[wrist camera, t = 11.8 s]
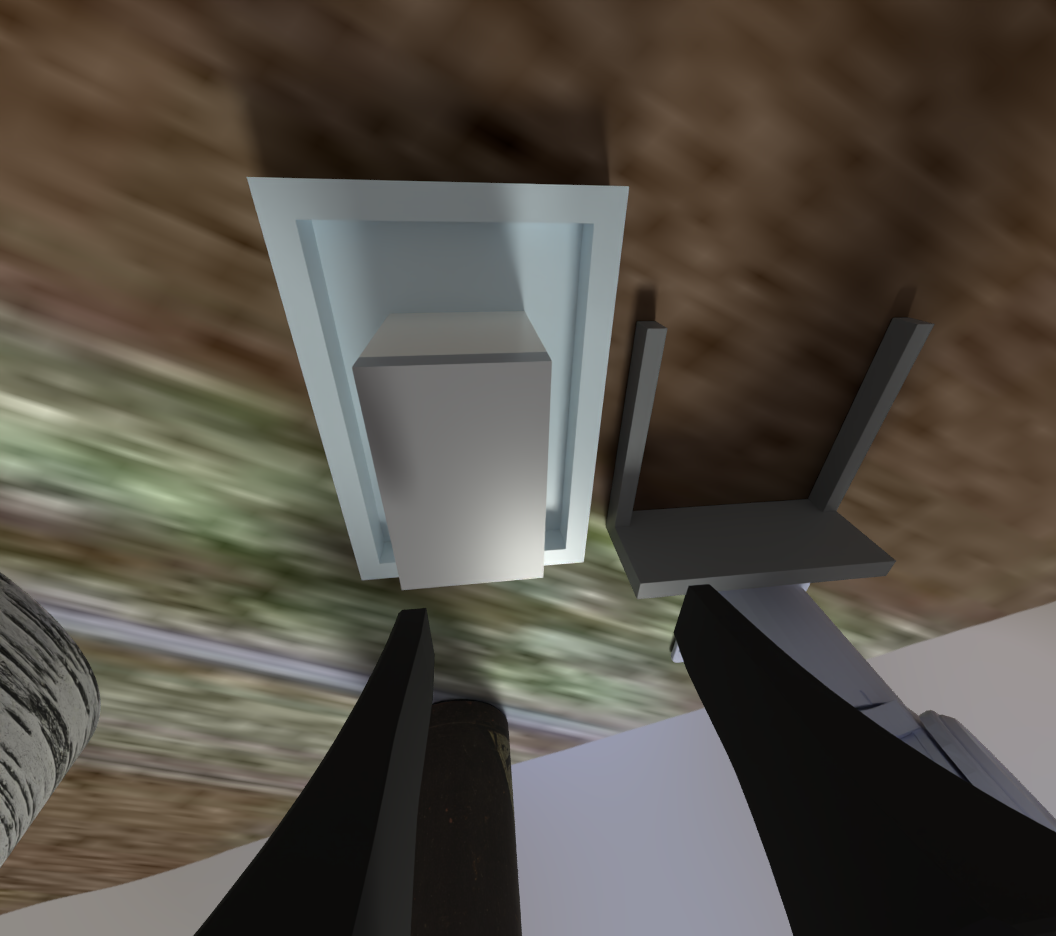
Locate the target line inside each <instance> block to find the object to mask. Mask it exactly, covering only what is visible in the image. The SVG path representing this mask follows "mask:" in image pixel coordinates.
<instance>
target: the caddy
mask: <svg viewBox="0 0 1056 936" xmlns="http://www.w3.org/2000/svg"><path fill="white" fill-rule="evenodd" d="M352 371H353V375H354V380H355V384H356V389H357V393H358V397H359V402H360V406H361V411H362V415H363V420H364V424H365V429H366V433H367V437H368V442H369V446H370V451H371V455H372V460H373V464H374V468H375V473H376V477H377V482H378V486H379V491H380V495H381V500H382V504H383V508H384V513H385V517H386V522H387V526H388V531H389V535H390V539H391V544H392V548H393V553H394V557H395V562H396V566H397V571H398V575H399V579H400V584H401V588H402V590H410V589H421V588H432V587H443V586H454V585H465V584H476V583H487V582H498V581H509V580H521V579H532V578H543V570H544V545H545V520H546V496H547V471H548V446H549V422H550V397H551V373H552V360H551V358H550V357H549V355H548V353H547V351H546V349H545V347H544V346H543V344H542V342H541V340H540V338H539V336H538V335H537V333H536V331H535V329H534V327H533V325H532V324H531V322H530V320H529V318H528V316H527V314H526V313H525V311H496V312H441V313H389V315H388V316H387V318H386V319H385V320H384V322H383V323H382V325H381V326H380V328H379V329H378V330H377V332H376V333H375V335H374V336H373V338H372V339H371V341H370V342H369V343H368V345H367V346H366V348H365V349H364V351H363V352H362V353H361V355H360V356H359V358H358V359H357V361H356V362H355V363H354V365H353V366H352Z"/></svg>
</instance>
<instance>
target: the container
mask: <svg viewBox="0 0 1056 936" xmlns="http://www.w3.org/2000/svg"><path fill="white" fill-rule="evenodd" d="M411 936H522V929H521V912H520V896H519V884H518V869H517V854H516V837H515V820H514V806H513V789H512V775H511V758H510V743H509V731H508V722H507V720H506V718H505V716H504V715H503V714H502V713H501V712H500V711H499V710H498V709H496V708H495V707H493V706H491V705H488V704H486V703H482V702H477V701H465V700H460V701H450V702H442V703H438V704H434V705H432V707H431V715H430V722H429V729H428V737H427V744H426V751H425V758H424V766H423V773H422V780H421V787H420V795H419V804H418V814H417V827H416V844H415V860H414V878H413V897H412V916H411Z"/></svg>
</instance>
